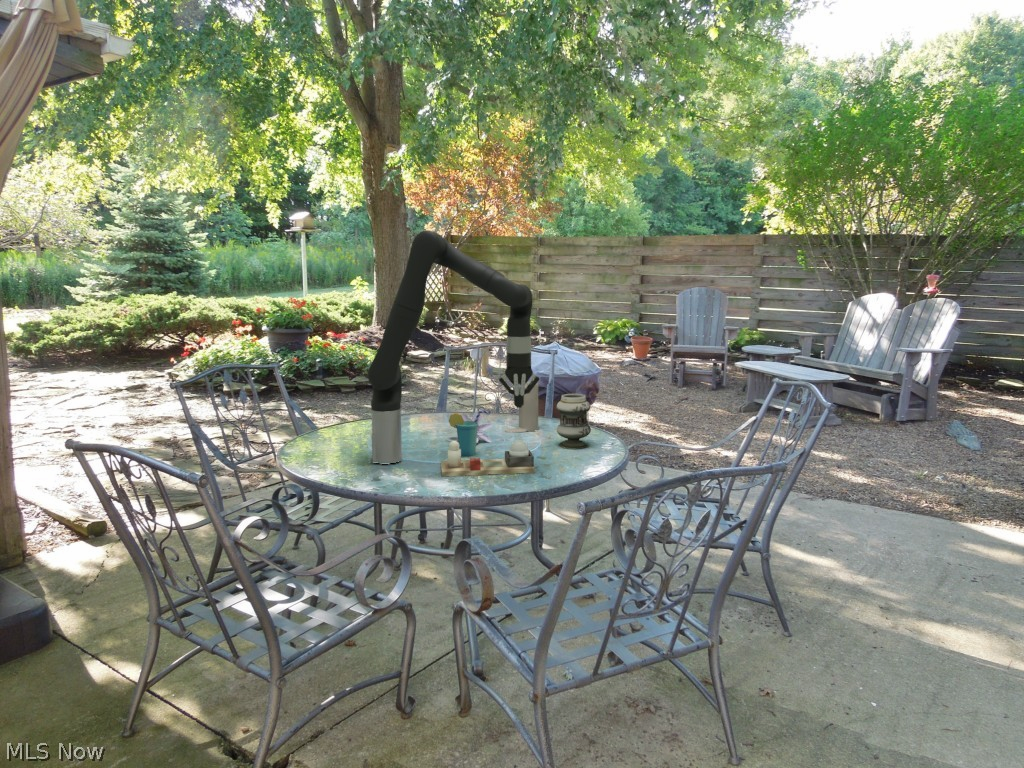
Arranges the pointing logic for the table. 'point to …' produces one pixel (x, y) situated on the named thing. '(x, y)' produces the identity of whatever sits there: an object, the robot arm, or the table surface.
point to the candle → (528, 412)
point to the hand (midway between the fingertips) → (519, 407)
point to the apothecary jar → (573, 420)
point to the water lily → (479, 428)
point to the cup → (466, 432)
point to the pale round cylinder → (519, 449)
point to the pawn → (454, 454)
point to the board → (491, 466)
